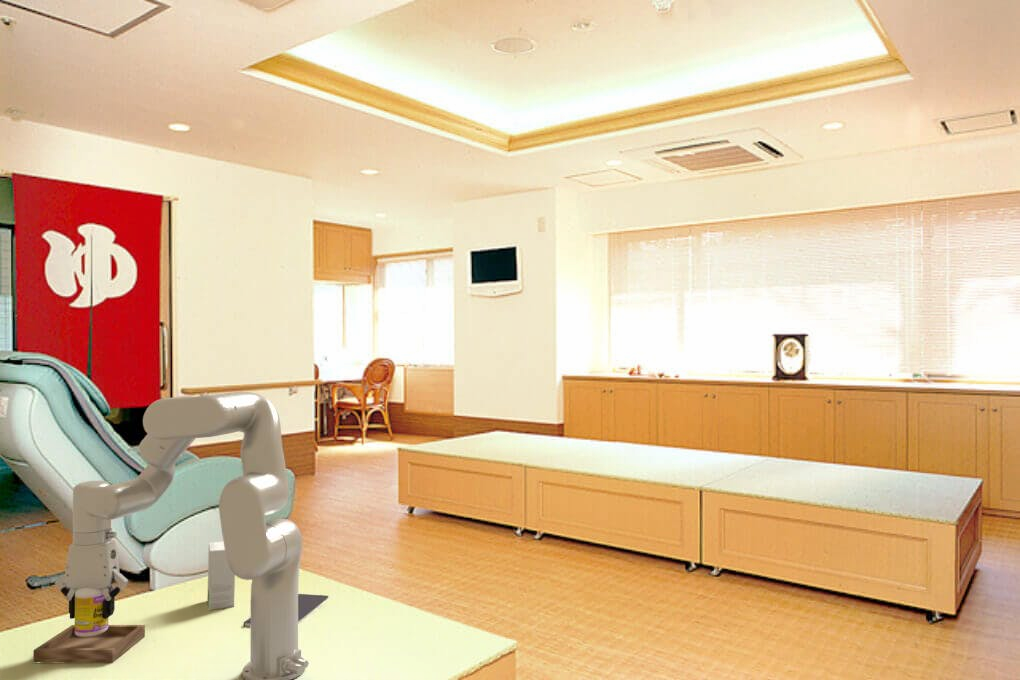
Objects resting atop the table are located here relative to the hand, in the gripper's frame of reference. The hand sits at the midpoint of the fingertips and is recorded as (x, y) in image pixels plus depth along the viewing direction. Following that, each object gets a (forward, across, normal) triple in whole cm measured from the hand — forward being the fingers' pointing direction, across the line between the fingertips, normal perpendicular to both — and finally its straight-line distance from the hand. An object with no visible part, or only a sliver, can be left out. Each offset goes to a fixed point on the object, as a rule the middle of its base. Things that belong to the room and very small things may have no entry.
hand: (91, 615), depth 164 cm
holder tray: (+8, 0, 0) cm, 8 cm away
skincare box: (+8, -18, -29) cm, 35 cm away
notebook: (+8, -38, -23) cm, 45 cm away
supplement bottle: (+4, 0, 0) cm, 4 cm away
